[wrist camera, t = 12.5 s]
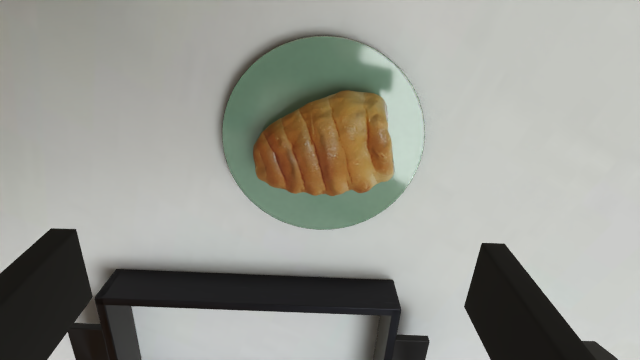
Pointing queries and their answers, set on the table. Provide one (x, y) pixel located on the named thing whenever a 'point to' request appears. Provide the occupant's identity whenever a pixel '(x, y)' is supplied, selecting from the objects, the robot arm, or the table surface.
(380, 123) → the pastry
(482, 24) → the table surface
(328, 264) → the table surface
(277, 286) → the pan
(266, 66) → the plate
